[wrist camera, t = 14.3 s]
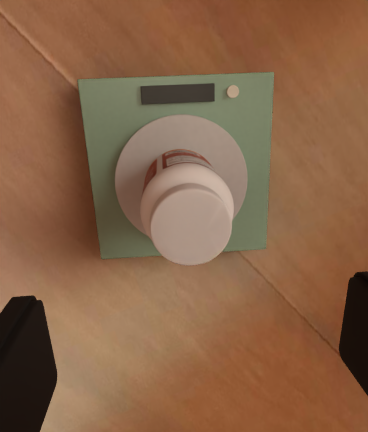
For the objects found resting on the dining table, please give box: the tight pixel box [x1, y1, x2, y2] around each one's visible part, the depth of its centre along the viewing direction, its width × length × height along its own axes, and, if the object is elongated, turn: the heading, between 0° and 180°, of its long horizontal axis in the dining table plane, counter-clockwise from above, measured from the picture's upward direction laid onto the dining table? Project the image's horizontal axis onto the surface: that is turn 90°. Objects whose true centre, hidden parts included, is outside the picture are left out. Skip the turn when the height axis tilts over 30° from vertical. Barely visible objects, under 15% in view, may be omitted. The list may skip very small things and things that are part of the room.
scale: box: [77, 72, 274, 259], centre depth 30 cm, size 16×16×3 cm
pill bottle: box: [140, 149, 234, 266], centre depth 24 cm, size 6×6×11 cm
